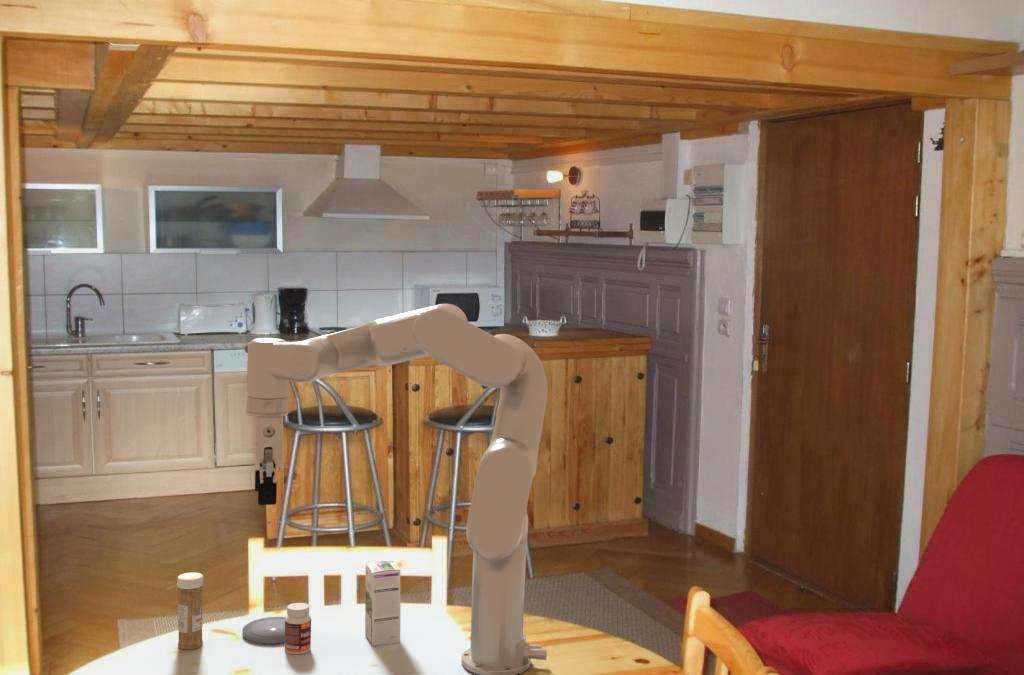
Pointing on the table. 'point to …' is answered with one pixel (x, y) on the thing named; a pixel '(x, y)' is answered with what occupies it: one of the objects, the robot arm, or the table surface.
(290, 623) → the pill bottle
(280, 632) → the dish
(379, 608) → the syrup box
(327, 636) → the table surface
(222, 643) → the table surface
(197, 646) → the sprinkles bottle
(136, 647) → the table surface
